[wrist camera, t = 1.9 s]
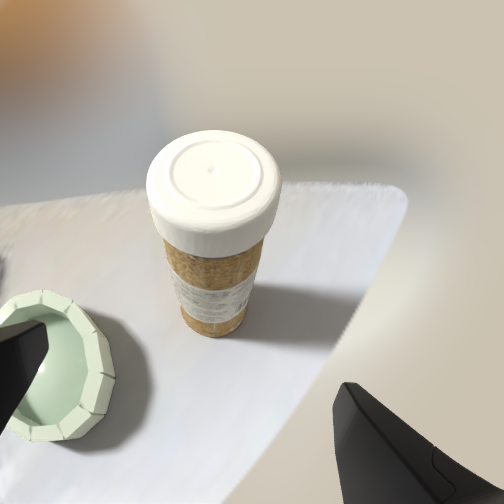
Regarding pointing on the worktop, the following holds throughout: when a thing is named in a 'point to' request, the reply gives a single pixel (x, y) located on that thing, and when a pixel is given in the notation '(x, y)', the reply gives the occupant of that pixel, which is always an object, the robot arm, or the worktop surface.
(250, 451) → the worktop surface
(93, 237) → the worktop surface
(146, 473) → the worktop surface
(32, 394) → the dish
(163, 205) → the sprinkles bottle
